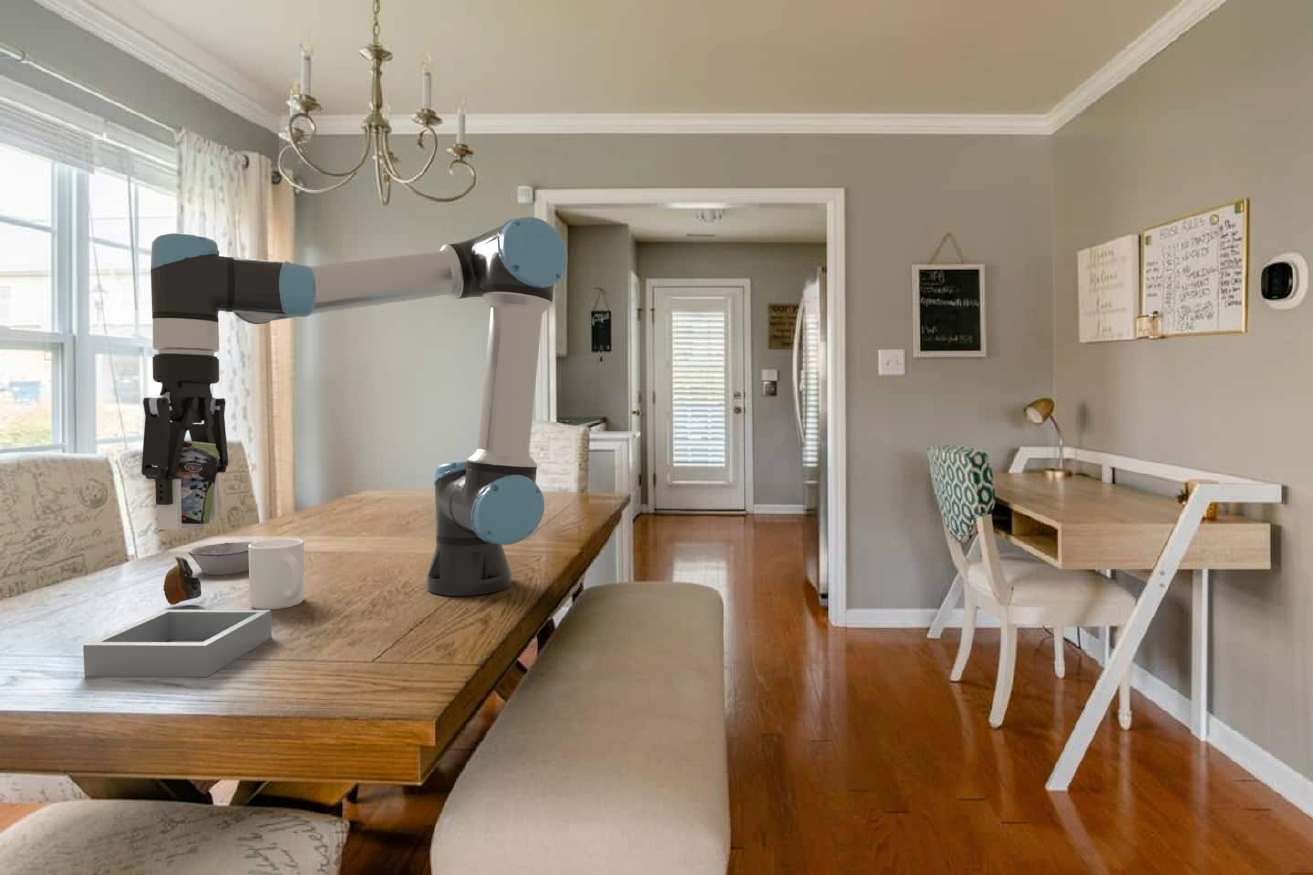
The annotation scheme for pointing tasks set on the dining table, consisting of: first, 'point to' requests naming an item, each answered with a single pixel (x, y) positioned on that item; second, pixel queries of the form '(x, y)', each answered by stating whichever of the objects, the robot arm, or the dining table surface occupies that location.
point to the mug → (276, 573)
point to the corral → (177, 644)
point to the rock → (181, 583)
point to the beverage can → (197, 482)
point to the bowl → (222, 558)
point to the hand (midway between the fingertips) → (188, 524)
